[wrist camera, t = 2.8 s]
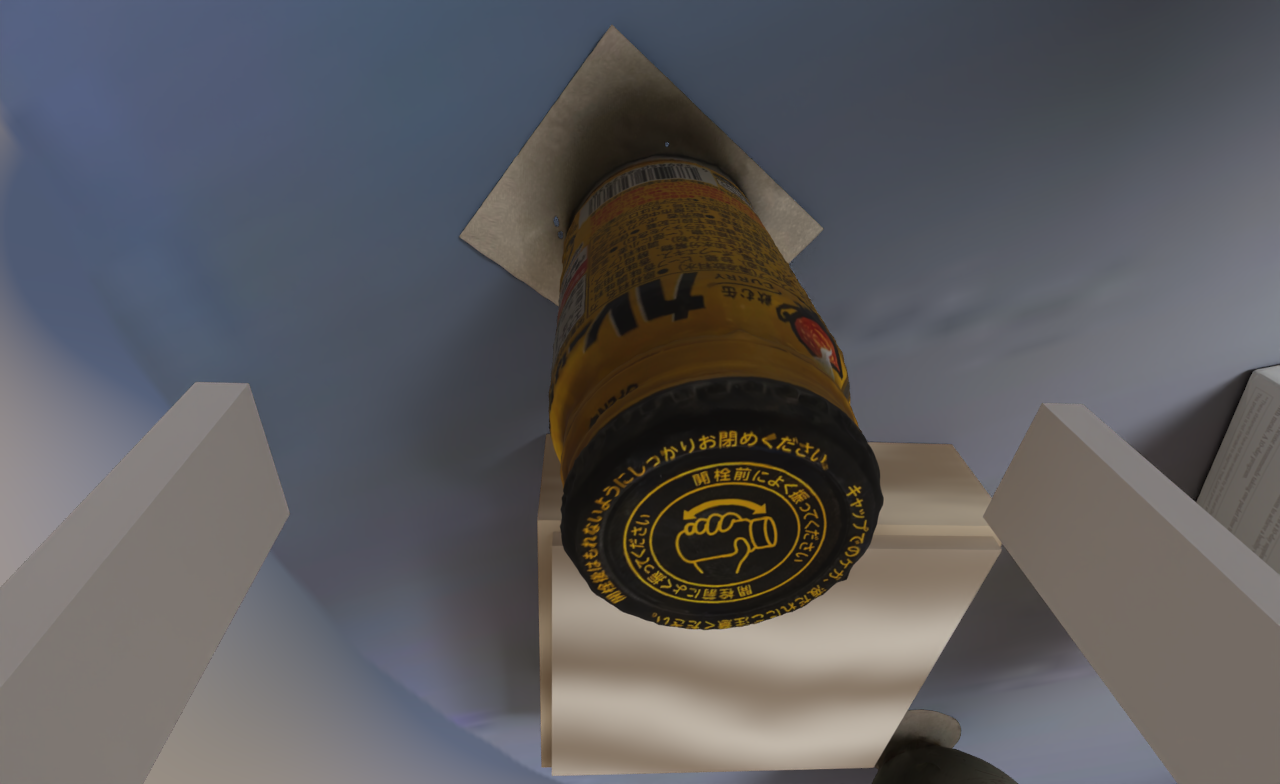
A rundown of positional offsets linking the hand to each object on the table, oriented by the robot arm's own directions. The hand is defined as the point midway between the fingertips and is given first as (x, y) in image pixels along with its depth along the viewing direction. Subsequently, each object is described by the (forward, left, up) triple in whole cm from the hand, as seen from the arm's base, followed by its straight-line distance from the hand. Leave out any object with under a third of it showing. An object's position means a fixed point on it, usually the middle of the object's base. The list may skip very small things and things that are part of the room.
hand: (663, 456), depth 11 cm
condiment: (0, 0, -11) cm, 11 cm away
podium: (+16, +5, -10) cm, 20 cm away
